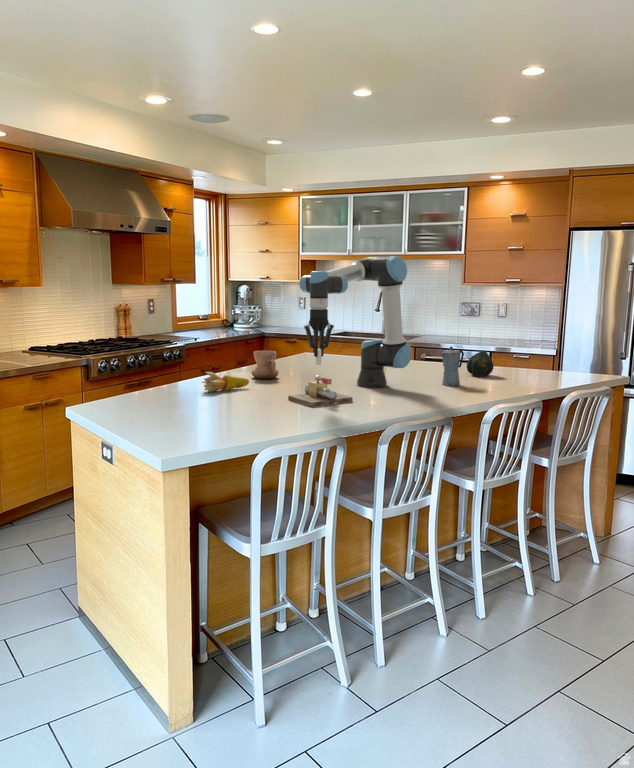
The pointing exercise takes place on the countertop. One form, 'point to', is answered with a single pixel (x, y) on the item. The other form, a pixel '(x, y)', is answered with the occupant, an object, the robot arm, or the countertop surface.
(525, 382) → the countertop surface
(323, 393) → the valve pipe
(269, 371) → the ceramic jug
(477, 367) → the squash
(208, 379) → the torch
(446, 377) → the moka pot
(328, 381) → the valve lever
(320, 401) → the mounting board
